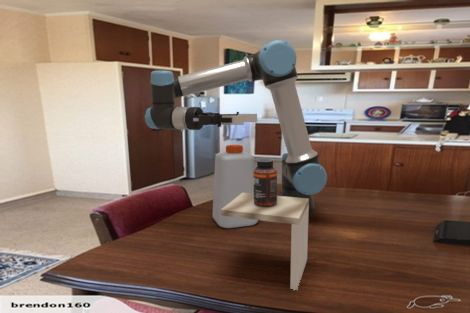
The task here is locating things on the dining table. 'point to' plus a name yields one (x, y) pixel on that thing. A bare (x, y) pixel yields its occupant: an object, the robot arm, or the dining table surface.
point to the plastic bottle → (232, 183)
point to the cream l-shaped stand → (282, 212)
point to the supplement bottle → (265, 183)
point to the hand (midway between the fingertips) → (250, 119)
